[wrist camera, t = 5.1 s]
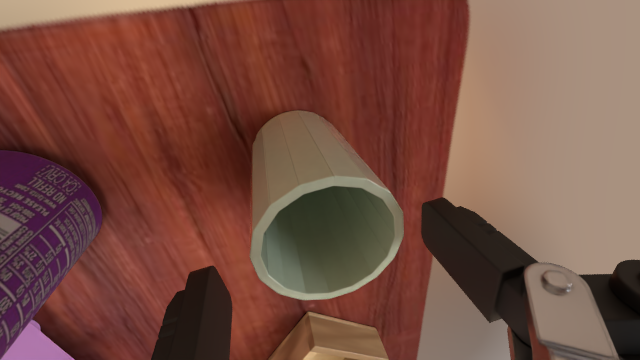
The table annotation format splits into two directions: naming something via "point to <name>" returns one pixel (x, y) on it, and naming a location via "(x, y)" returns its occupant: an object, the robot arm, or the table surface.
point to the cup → (317, 211)
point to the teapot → (34, 346)
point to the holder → (330, 341)
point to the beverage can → (38, 235)
